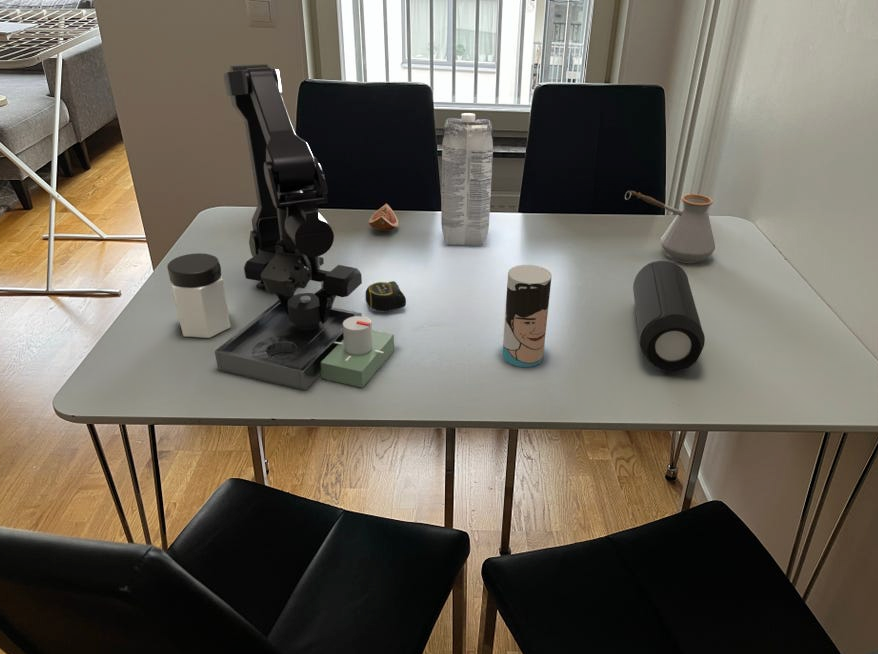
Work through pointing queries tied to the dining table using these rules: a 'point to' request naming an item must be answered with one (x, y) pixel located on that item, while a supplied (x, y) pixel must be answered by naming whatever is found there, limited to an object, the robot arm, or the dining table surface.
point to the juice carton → (466, 180)
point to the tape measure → (385, 296)
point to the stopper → (304, 311)
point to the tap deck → (357, 361)
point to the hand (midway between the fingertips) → (307, 319)
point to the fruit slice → (384, 219)
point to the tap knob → (357, 335)
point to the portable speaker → (667, 317)
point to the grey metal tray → (274, 370)
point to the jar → (199, 295)
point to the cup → (526, 315)
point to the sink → (288, 340)
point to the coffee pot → (686, 228)
